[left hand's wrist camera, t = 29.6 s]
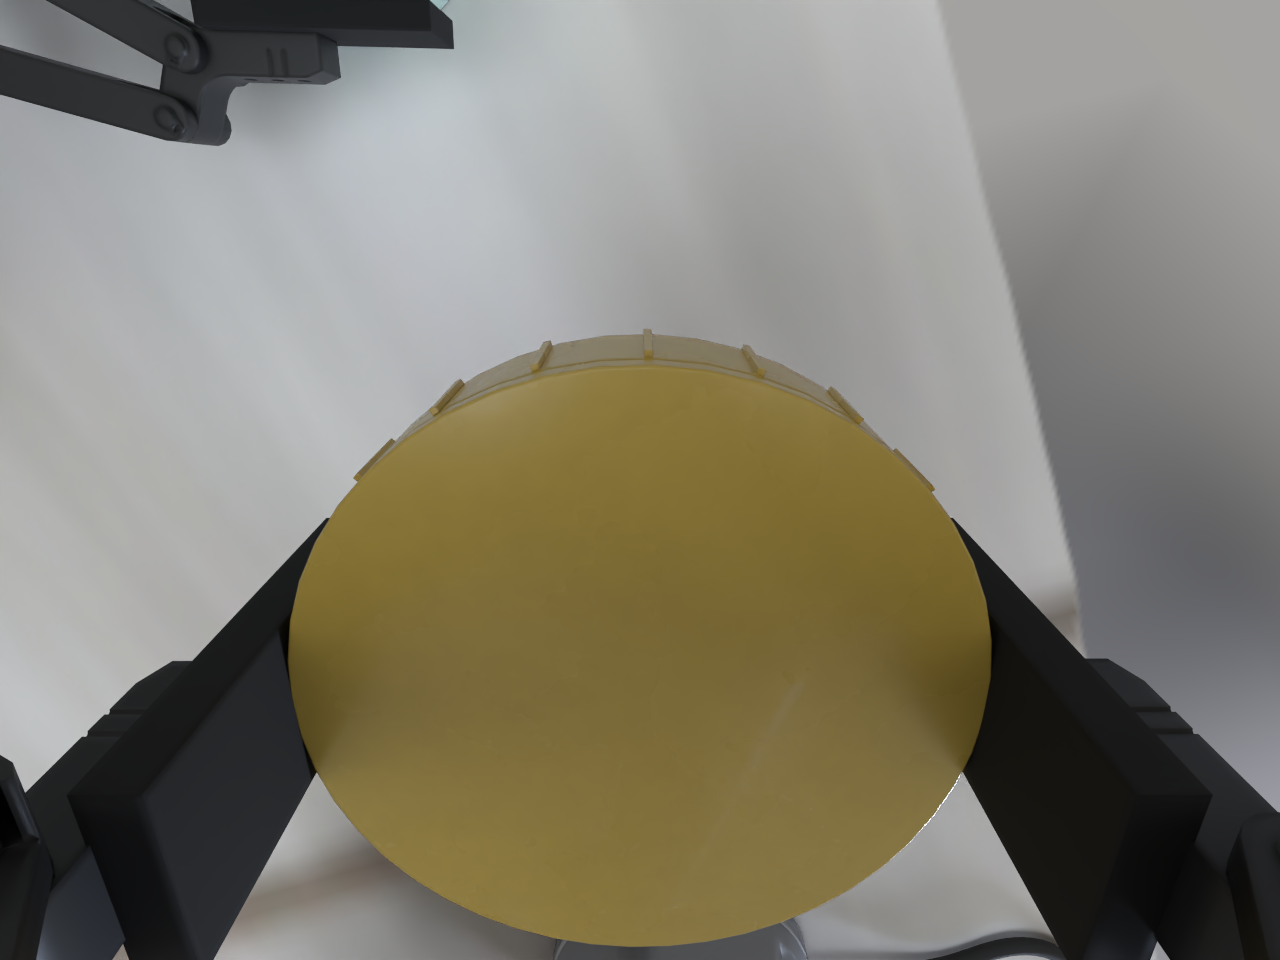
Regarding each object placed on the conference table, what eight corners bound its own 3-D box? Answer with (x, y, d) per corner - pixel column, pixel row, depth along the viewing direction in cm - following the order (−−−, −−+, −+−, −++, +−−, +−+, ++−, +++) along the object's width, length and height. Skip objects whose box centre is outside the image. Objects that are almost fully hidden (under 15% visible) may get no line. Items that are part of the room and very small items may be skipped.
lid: (849, 876, 14) (882, 979, 13) (333, 813, 14) (285, 912, 12) (1033, 391, 11) (1115, 434, 9) (340, 275, 10) (272, 296, 8)
